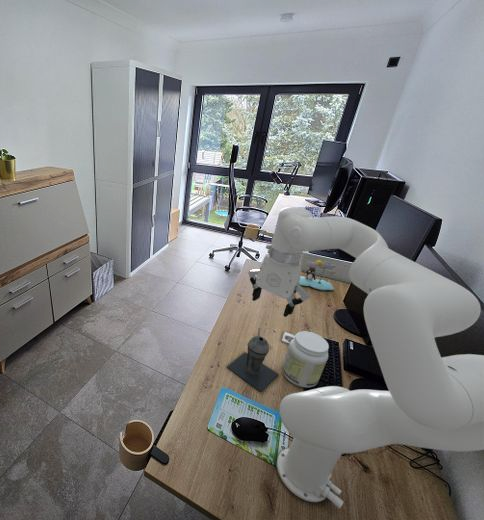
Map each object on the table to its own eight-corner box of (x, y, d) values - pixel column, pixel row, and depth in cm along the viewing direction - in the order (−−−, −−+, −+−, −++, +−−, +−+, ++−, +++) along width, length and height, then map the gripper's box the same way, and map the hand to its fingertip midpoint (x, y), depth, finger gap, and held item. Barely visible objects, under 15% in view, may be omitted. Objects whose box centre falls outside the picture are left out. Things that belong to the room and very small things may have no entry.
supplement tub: (312, 366, 111) (326, 332, 103) (321, 393, 101) (337, 357, 93) (278, 359, 114) (289, 326, 106) (283, 384, 103) (296, 349, 96)
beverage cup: (264, 379, 105) (276, 337, 96) (243, 376, 106) (253, 334, 97) (260, 364, 111) (271, 323, 102) (240, 361, 112) (250, 320, 103)
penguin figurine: (292, 285, 164) (300, 261, 157) (293, 276, 173) (300, 254, 166) (333, 294, 156) (343, 270, 149) (332, 285, 164) (341, 261, 158)
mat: (277, 375, 107) (278, 374, 107) (260, 392, 101) (260, 391, 100) (244, 353, 117) (245, 352, 117) (226, 367, 110) (227, 366, 110)
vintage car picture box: (322, 346, 121) (326, 338, 119) (321, 356, 116) (325, 347, 114) (284, 332, 128) (286, 324, 126) (281, 341, 123) (284, 333, 121)
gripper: (248, 247, 81) (237, 297, 88) (312, 271, 69) (294, 327, 76) (262, 240, 85) (251, 289, 93) (325, 262, 73) (306, 316, 81)
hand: (270, 306), depth 84 cm, fingers open, 9 cm apart
